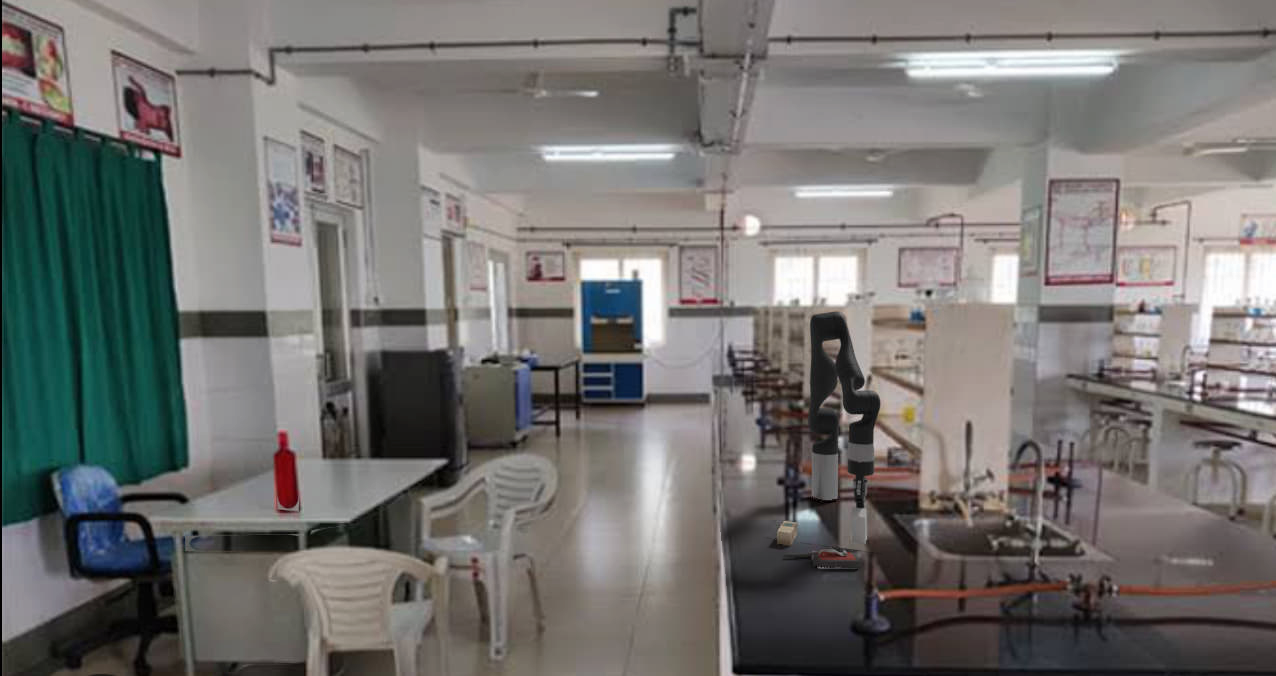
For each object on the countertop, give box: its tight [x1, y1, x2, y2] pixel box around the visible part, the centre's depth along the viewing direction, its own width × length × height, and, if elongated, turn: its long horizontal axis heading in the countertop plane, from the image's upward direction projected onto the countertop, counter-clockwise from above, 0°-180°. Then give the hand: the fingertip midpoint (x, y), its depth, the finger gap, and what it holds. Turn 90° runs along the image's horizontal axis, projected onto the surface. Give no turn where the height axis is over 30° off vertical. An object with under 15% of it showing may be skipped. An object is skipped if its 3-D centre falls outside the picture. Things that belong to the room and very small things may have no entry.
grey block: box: [850, 506, 868, 544], centre depth 193 cm, size 4×4×10 cm
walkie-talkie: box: [783, 548, 861, 568], centre depth 179 cm, size 9×4×20 cm
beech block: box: [776, 520, 798, 546], centre depth 197 cm, size 4×4×10 cm
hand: (860, 515), depth 195 cm, fingers closed
